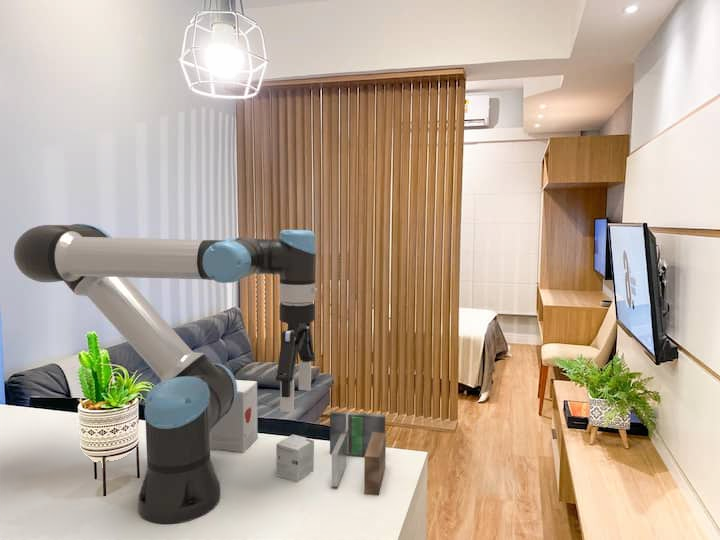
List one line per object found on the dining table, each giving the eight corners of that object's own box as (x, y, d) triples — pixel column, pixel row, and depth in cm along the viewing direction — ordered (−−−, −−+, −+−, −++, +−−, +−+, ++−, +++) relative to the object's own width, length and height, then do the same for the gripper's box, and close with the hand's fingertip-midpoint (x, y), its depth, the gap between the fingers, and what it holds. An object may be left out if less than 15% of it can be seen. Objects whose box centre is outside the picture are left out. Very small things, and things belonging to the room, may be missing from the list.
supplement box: (243, 453, 123) (243, 392, 121) (209, 449, 124) (207, 389, 123) (258, 437, 132) (258, 380, 130) (226, 434, 133) (225, 378, 132)
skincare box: (275, 475, 112) (275, 443, 111) (292, 464, 117) (292, 433, 117) (298, 483, 109) (297, 449, 108) (314, 471, 114) (314, 439, 114)
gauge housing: (313, 489, 106) (312, 442, 106) (331, 451, 124) (331, 411, 123) (378, 495, 104) (379, 447, 103) (387, 456, 122) (388, 415, 121)
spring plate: (331, 486, 107) (331, 439, 106) (344, 453, 122) (345, 412, 121) (337, 486, 107) (337, 440, 106) (349, 454, 121) (350, 413, 120)
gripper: (298, 314, 97) (296, 423, 99) (327, 295, 121) (326, 383, 123) (259, 312, 98) (259, 420, 100) (296, 293, 122) (295, 381, 124)
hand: (296, 400), depth 112 cm, fingers open, 13 cm apart
